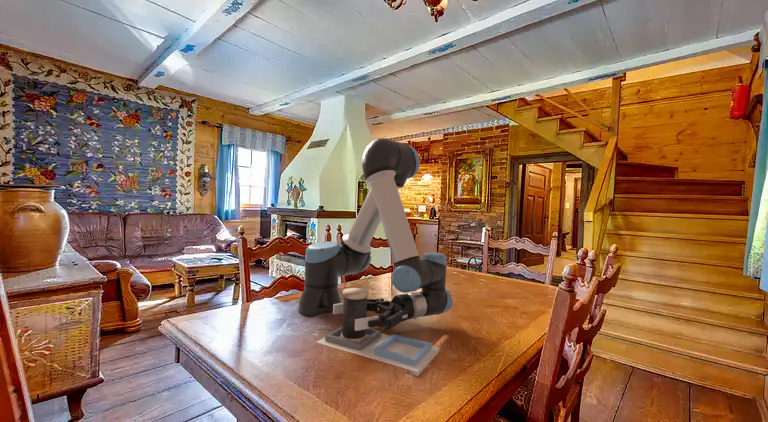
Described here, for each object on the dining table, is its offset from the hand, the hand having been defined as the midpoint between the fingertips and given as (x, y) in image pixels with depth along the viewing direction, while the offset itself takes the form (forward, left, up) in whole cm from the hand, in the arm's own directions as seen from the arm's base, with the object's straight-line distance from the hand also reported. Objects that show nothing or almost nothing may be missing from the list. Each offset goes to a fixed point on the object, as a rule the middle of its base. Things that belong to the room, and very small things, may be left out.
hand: (343, 316), depth 91 cm
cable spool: (+2, +3, -6) cm, 7 cm away
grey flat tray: (+9, +3, -7) cm, 12 cm away
